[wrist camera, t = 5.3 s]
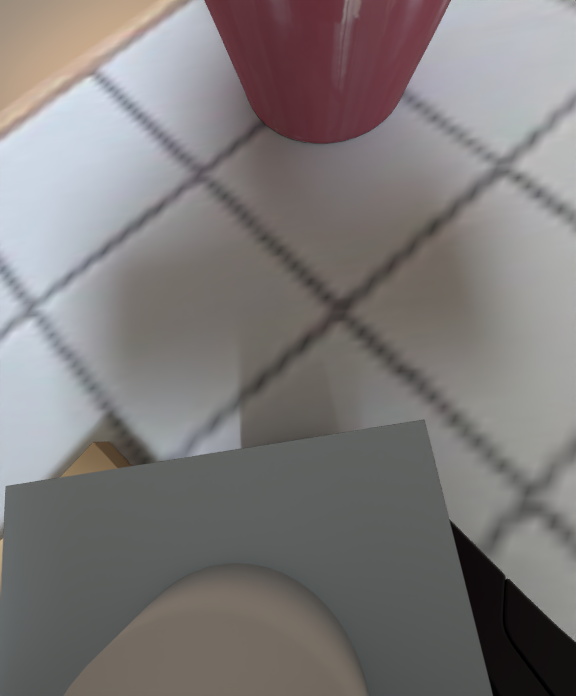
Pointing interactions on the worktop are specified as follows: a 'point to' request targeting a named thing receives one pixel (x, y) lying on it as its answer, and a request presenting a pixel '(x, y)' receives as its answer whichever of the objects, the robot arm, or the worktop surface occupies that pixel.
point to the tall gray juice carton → (241, 576)
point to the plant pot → (325, 59)
